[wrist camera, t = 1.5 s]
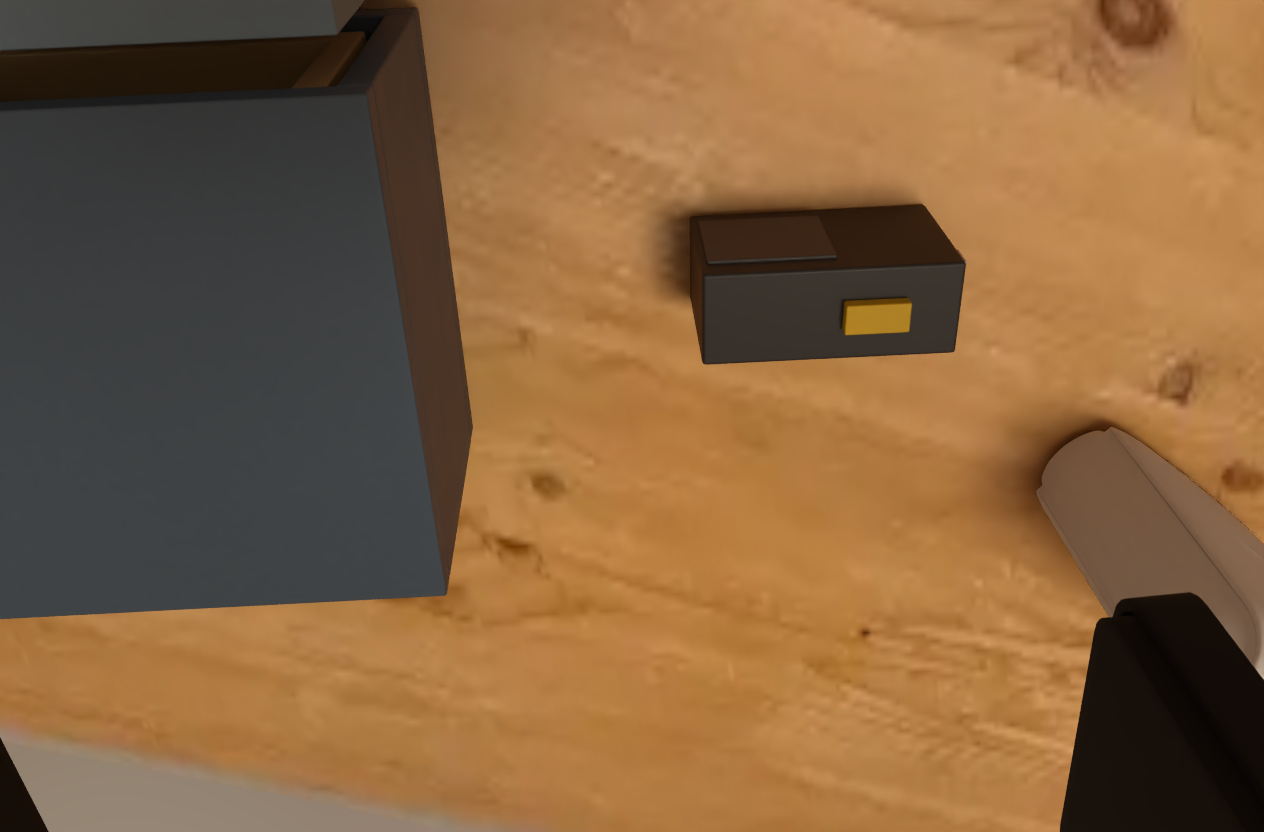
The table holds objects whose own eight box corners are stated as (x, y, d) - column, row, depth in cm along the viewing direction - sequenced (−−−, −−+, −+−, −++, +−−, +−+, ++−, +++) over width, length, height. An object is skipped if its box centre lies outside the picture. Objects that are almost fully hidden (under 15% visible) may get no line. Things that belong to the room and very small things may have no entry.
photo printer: (1280, 546, 42) (1516, 822, 31) (1185, 616, 43) (1379, 900, 33) (1107, 400, 38) (1308, 656, 28) (1011, 483, 40) (1166, 754, 29)
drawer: (-246, -373, 25) (-495, -403, 19) (333, -397, 25) (259, -434, 19) (27, 376, 35) (-83, 504, 29) (440, 355, 35) (412, 478, 30)
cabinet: (-102, 30, 31) (-318, 126, 23) (418, 6, 31) (367, 93, 23) (51, 449, 38) (-77, 624, 30) (473, 428, 38) (446, 596, 30)
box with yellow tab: (689, 212, 34) (703, 278, 30) (958, 199, 34) (1009, 263, 30) (690, 301, 36) (703, 376, 32) (947, 289, 36) (994, 361, 32)
